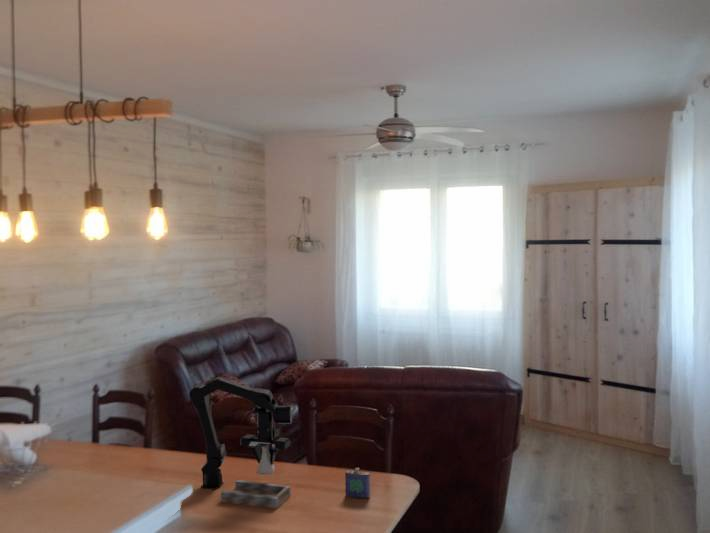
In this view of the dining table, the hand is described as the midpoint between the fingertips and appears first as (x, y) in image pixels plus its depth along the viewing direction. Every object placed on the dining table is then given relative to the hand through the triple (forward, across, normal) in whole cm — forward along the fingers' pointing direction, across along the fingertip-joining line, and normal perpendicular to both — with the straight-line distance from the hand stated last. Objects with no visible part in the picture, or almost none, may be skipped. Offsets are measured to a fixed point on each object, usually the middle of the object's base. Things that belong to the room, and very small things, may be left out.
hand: (265, 463), depth 243 cm
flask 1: (+3, 0, 0) cm, 3 cm away
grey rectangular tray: (+8, -2, +12) cm, 15 cm away
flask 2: (+9, -37, 0) cm, 38 cm away
